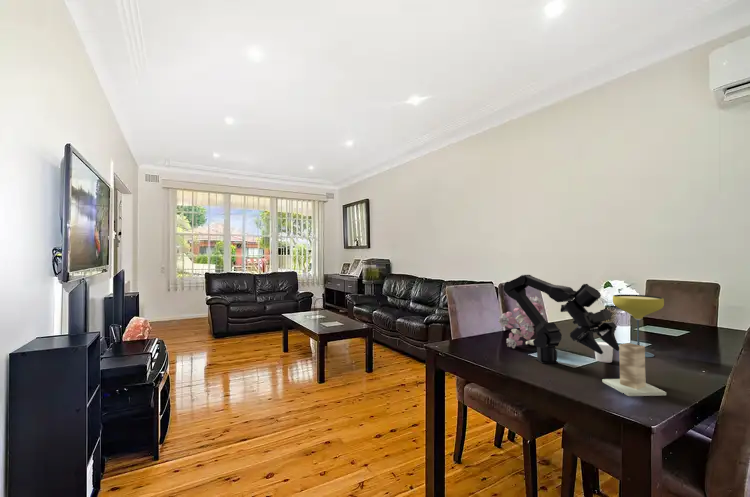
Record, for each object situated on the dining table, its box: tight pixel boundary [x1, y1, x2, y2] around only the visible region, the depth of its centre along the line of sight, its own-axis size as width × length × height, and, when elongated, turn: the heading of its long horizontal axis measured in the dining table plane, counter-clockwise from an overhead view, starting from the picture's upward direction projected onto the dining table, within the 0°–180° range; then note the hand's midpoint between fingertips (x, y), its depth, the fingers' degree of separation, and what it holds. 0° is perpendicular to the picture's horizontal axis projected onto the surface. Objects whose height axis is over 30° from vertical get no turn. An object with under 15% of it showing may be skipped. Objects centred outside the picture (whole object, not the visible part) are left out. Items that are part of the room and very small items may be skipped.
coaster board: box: [601, 378, 667, 397], centre depth 115 cm, size 12×12×1 cm
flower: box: [497, 293, 544, 349], centre depth 170 cm, size 20×22×25 cm
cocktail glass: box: [612, 294, 665, 359], centre depth 154 cm, size 18×18×25 cm
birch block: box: [618, 342, 647, 389], centre depth 115 cm, size 5×5×13 cm
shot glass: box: [594, 341, 614, 363], centre depth 146 cm, size 7×7×7 cm
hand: (610, 351), depth 122 cm, fingers open, 9 cm apart
